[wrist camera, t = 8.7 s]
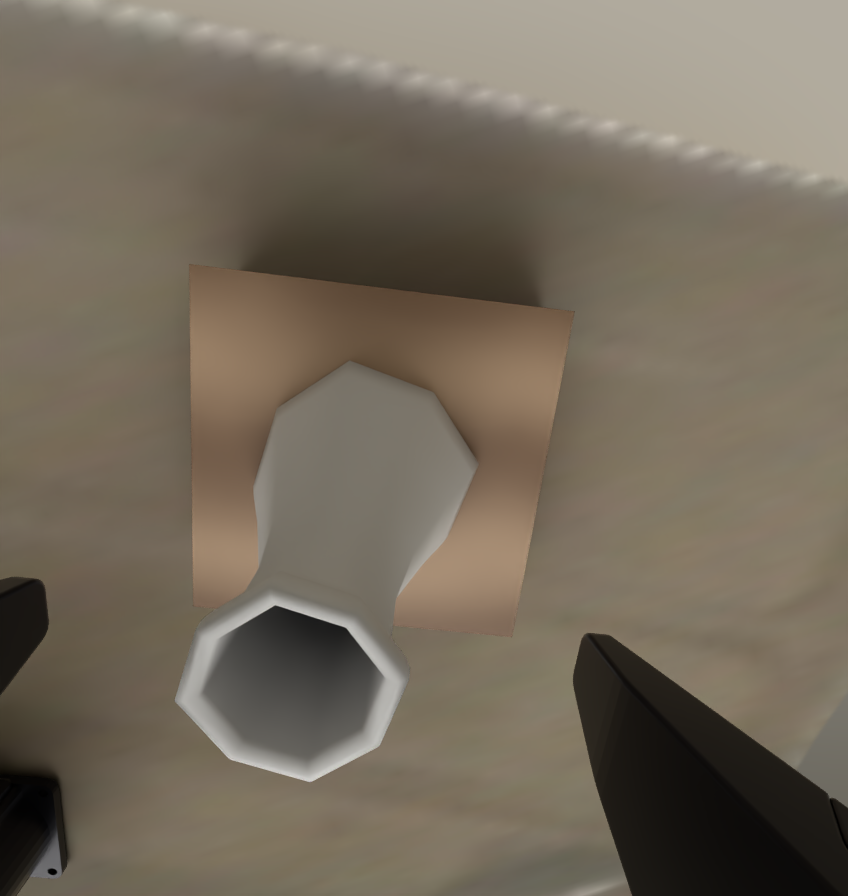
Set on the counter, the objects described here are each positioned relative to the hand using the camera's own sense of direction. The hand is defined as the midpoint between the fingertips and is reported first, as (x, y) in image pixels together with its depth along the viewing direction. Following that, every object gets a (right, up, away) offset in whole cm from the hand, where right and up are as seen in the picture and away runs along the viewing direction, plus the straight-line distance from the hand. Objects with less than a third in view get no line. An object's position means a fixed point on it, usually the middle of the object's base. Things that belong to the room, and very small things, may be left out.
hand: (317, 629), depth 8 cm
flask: (0, +2, +9) cm, 9 cm away
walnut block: (0, +3, +12) cm, 13 cm away
